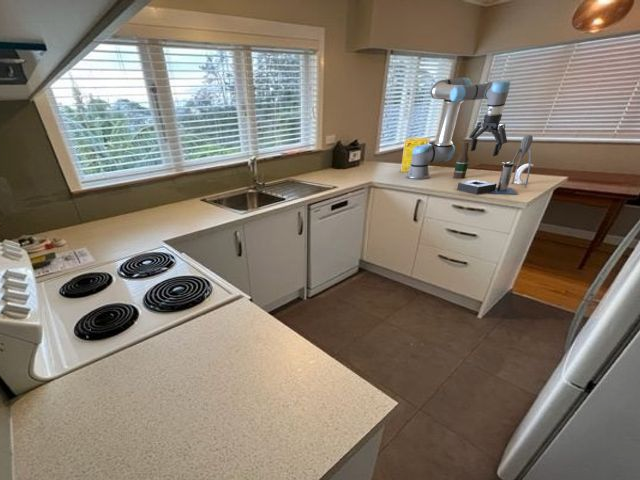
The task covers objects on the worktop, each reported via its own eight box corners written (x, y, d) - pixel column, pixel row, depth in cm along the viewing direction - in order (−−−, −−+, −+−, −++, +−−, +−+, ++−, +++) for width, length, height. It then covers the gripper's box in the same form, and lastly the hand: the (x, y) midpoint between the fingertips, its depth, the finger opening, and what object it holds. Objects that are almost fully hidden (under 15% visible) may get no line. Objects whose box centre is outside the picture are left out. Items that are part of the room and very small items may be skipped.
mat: (487, 188, 187) (487, 187, 187) (511, 188, 182) (511, 187, 182) (491, 193, 176) (491, 192, 176) (516, 194, 171) (517, 193, 171)
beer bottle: (454, 178, 214) (462, 143, 204) (451, 176, 221) (458, 142, 210) (467, 178, 212) (475, 143, 202) (463, 176, 219) (470, 141, 208)
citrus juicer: (526, 187, 182) (543, 135, 169) (509, 188, 182) (524, 136, 169) (512, 183, 192) (527, 133, 179) (496, 184, 192) (510, 135, 179)
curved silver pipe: (527, 184, 188) (533, 164, 183) (516, 184, 189) (522, 165, 184) (523, 182, 192) (528, 163, 187) (512, 182, 193) (518, 163, 188)
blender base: (474, 186, 192) (475, 179, 190) (494, 191, 180) (496, 183, 178) (456, 189, 190) (458, 182, 188) (476, 194, 177) (478, 187, 176)
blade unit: (494, 188, 183) (501, 160, 175) (507, 189, 180) (515, 160, 173) (496, 191, 178) (504, 162, 170) (509, 191, 175) (518, 162, 168)
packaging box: (404, 168, 262) (408, 137, 251) (425, 168, 253) (430, 137, 242) (400, 171, 250) (404, 140, 239) (422, 172, 241) (427, 139, 230)
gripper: (467, 113, 169) (459, 150, 181) (512, 118, 149) (500, 159, 161) (477, 109, 170) (469, 147, 182) (523, 114, 150) (510, 155, 162)
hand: (483, 153), depth 172 cm, fingers open, 13 cm apart
